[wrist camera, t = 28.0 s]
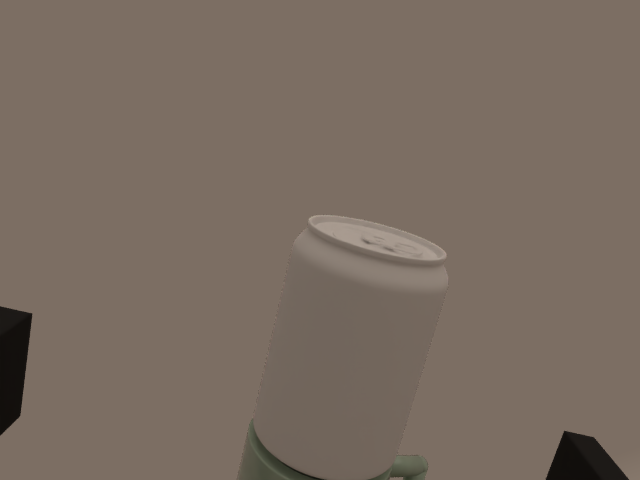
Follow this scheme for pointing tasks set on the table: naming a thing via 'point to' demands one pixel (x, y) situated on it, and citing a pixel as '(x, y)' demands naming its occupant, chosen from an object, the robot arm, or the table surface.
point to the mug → (274, 476)
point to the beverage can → (348, 346)
